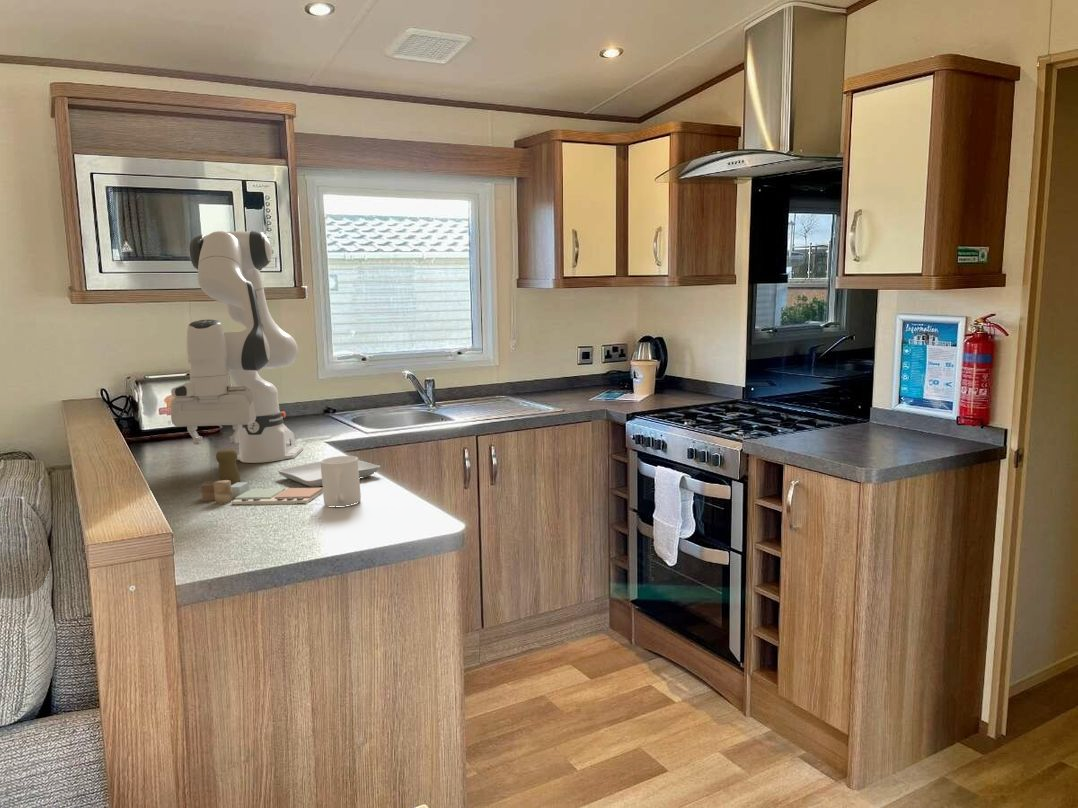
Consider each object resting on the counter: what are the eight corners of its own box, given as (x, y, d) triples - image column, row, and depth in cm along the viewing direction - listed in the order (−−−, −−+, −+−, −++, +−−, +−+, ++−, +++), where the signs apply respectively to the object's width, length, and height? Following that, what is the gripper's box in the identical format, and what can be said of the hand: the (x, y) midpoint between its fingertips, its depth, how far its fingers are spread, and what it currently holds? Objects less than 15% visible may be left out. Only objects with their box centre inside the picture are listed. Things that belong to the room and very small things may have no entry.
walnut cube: (206, 497, 204) (205, 481, 203) (223, 495, 204) (221, 480, 204) (202, 500, 200) (201, 485, 199) (219, 499, 200) (217, 484, 200)
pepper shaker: (234, 486, 213) (230, 446, 211) (247, 489, 209) (243, 448, 208) (213, 491, 208) (209, 450, 207) (225, 494, 205) (221, 452, 203)
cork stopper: (220, 499, 200) (218, 480, 199) (235, 499, 199) (233, 480, 198) (212, 504, 196) (210, 484, 195) (227, 503, 195) (225, 484, 195)
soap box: (238, 493, 206) (237, 482, 206) (249, 493, 206) (248, 482, 205) (229, 498, 201) (228, 487, 201) (240, 498, 201) (239, 487, 200)
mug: (319, 513, 183) (316, 467, 181) (326, 500, 194) (322, 457, 193) (358, 510, 184) (354, 465, 182) (362, 497, 195) (359, 454, 194)
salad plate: (276, 480, 220) (275, 468, 219) (347, 467, 233) (346, 455, 233) (309, 493, 204) (308, 480, 203) (383, 478, 217) (382, 466, 216)
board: (252, 493, 205) (251, 488, 205) (323, 491, 203) (323, 487, 203) (231, 504, 194) (231, 500, 194) (306, 503, 192) (306, 498, 192)
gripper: (257, 384, 195) (262, 440, 197) (179, 387, 198) (184, 442, 199) (245, 387, 189) (250, 444, 191) (164, 390, 191) (170, 446, 193)
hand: (216, 443), depth 195 cm, fingers open, 8 cm apart
